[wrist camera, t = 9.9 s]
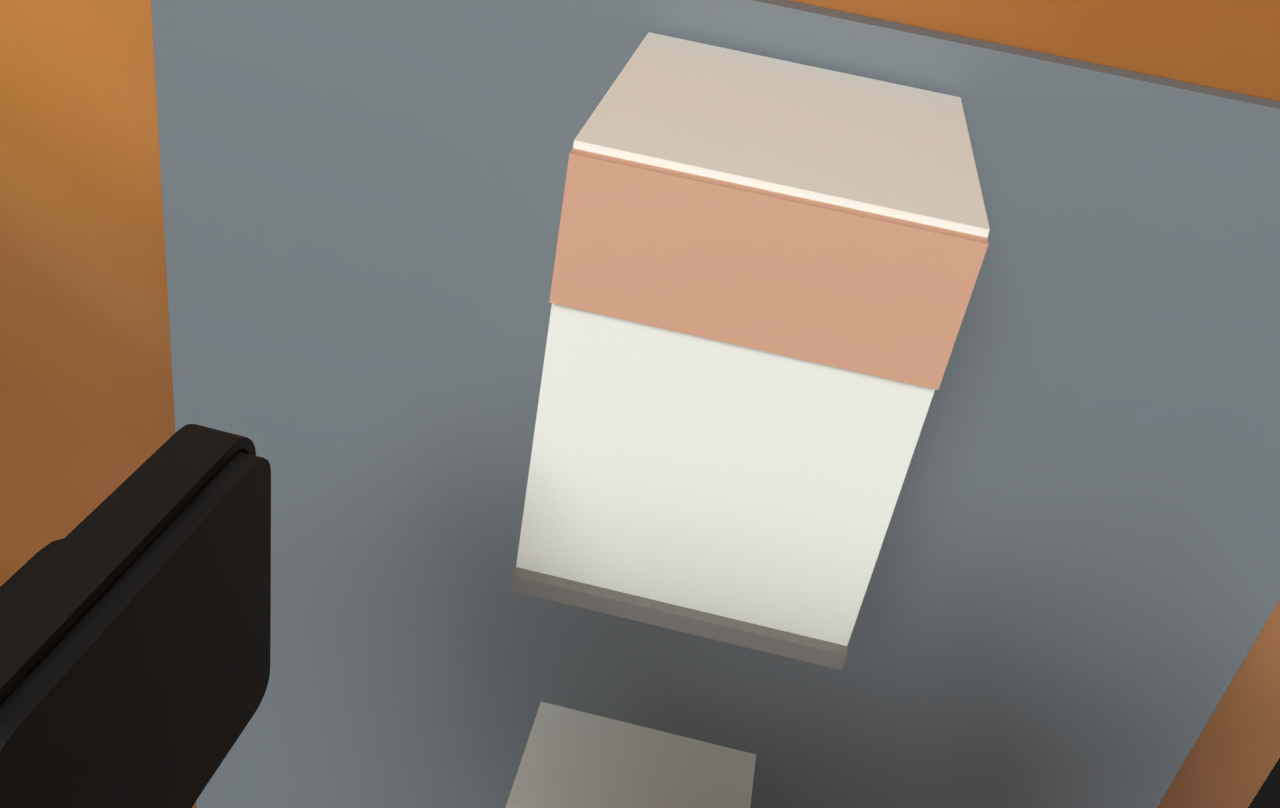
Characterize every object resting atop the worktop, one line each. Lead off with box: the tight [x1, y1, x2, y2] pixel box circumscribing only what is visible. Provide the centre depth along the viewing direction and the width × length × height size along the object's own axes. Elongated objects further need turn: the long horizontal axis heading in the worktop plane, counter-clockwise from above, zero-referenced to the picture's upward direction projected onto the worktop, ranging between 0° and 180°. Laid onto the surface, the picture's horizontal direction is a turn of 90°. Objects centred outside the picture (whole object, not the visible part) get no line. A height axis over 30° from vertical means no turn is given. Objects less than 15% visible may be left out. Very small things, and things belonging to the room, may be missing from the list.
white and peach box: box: [510, 32, 990, 670], centre depth 18 cm, size 5×7×6 cm
